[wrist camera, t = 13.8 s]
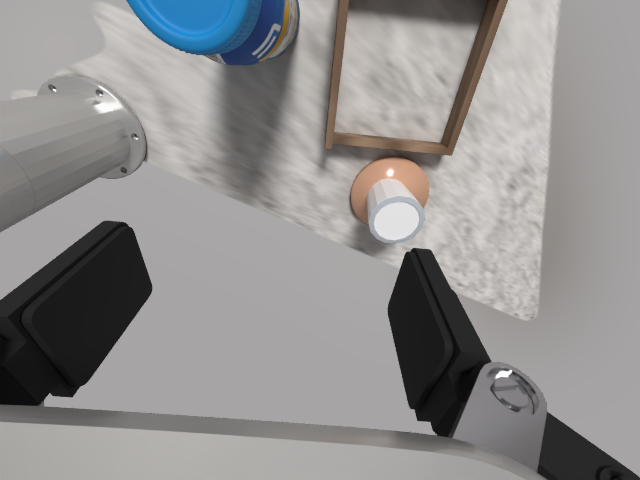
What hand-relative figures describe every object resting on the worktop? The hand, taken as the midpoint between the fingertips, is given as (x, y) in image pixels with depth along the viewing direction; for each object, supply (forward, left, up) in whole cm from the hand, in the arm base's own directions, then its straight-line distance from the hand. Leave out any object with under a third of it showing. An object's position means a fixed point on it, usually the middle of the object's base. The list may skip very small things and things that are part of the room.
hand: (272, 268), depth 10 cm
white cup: (+12, -10, -30) cm, 33 cm away
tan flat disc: (+12, -10, -30) cm, 34 cm away
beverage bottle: (-6, +9, -31) cm, 32 cm away
